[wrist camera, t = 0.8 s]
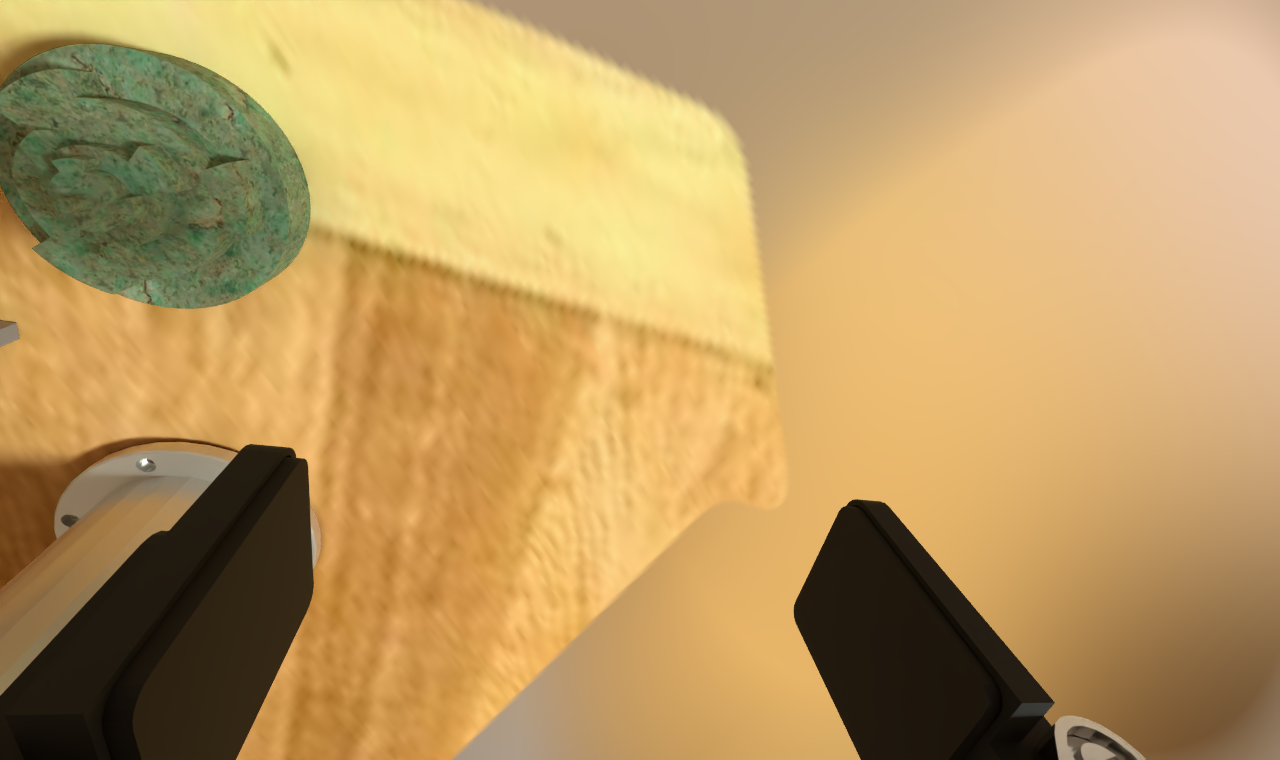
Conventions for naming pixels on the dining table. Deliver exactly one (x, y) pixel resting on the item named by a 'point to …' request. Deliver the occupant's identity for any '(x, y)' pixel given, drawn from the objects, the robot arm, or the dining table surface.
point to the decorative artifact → (149, 175)
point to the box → (8, 332)
